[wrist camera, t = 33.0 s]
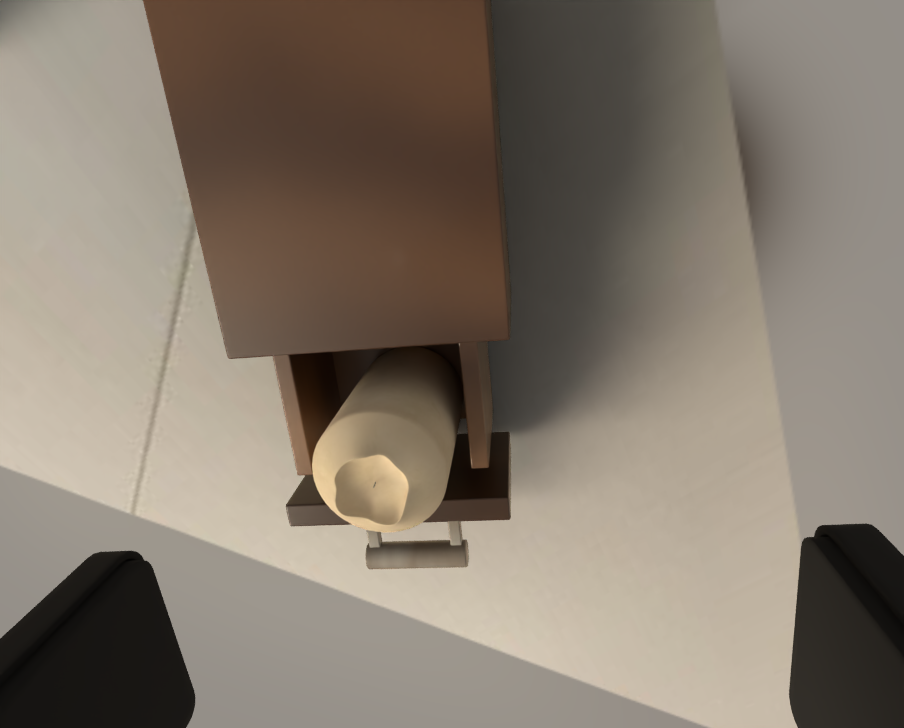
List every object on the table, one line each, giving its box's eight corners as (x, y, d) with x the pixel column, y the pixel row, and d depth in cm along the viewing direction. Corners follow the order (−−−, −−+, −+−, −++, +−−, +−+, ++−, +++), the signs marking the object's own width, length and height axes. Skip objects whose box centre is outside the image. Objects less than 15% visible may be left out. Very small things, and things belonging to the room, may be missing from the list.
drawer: (516, 520, 35) (517, 603, 28) (344, 525, 36) (307, 606, 30) (492, 203, 29) (486, 216, 22) (287, 223, 30) (226, 241, 24)
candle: (483, 410, 31) (471, 519, 22) (399, 455, 33) (354, 575, 23) (427, 325, 30) (388, 402, 21) (342, 376, 31) (270, 469, 22)
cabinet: (510, 292, 31) (510, 340, 23) (299, 308, 33) (227, 359, 24) (488, -29, 26) (477, -114, 18) (242, 7, 28) (128, -56, 20)
